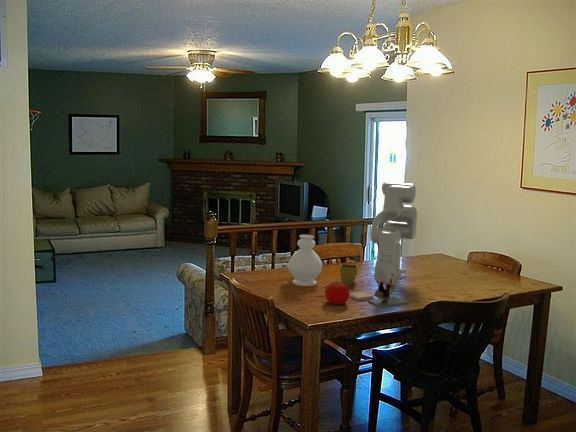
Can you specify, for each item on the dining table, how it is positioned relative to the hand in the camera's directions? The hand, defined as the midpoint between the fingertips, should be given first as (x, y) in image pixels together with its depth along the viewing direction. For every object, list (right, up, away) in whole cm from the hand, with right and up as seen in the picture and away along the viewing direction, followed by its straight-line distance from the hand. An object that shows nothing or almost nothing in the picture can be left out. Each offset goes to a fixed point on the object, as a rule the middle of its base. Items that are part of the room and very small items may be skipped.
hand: (383, 295), depth 293 cm
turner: (+4, +2, +2) cm, 5 cm away
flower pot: (-13, +2, +37) cm, 39 cm away
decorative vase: (-36, +2, +33) cm, 49 cm away
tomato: (-22, -4, -2) cm, 23 cm away
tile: (-5, -2, +12) cm, 13 cm away
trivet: (+3, -4, +2) cm, 5 cm away
